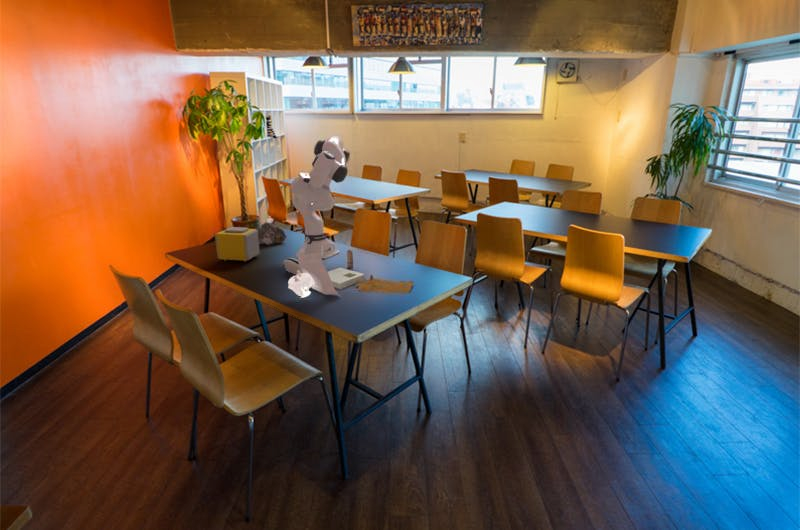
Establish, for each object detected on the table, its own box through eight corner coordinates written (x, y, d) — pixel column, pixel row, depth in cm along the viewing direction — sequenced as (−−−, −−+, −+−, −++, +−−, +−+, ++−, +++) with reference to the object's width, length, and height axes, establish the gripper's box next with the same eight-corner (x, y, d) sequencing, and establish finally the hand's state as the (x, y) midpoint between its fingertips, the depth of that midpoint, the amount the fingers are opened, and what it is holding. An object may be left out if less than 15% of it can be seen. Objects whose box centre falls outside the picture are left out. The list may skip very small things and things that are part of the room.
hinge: (311, 276, 241) (305, 260, 236) (304, 280, 238) (298, 265, 233) (294, 269, 252) (287, 253, 247) (287, 273, 250) (280, 258, 245)
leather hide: (346, 291, 223) (346, 282, 221) (382, 274, 242) (382, 266, 240) (390, 313, 207) (391, 303, 205) (425, 292, 226) (426, 284, 223)
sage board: (340, 272, 246) (340, 267, 245) (364, 279, 236) (364, 274, 235) (315, 281, 233) (314, 275, 232) (340, 289, 222) (339, 283, 221)
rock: (268, 221, 292) (265, 213, 304) (253, 237, 293) (251, 228, 306) (290, 237, 302) (286, 228, 314) (276, 253, 304) (273, 243, 316)
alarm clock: (261, 256, 276) (258, 226, 270) (248, 264, 261) (245, 232, 255) (231, 254, 279) (228, 225, 273) (217, 262, 264) (213, 231, 259)
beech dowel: (350, 266, 257) (349, 248, 254) (354, 267, 255) (354, 249, 252) (346, 267, 255) (345, 249, 251) (350, 269, 253) (350, 250, 249)
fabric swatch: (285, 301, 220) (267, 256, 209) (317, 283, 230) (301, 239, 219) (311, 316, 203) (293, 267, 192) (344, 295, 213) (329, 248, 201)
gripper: (330, 185, 242) (318, 207, 246) (296, 171, 229) (284, 194, 233) (333, 190, 237) (321, 212, 242) (299, 176, 225) (286, 200, 229)
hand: (302, 203), depth 237 cm, fingers open, 8 cm apart
